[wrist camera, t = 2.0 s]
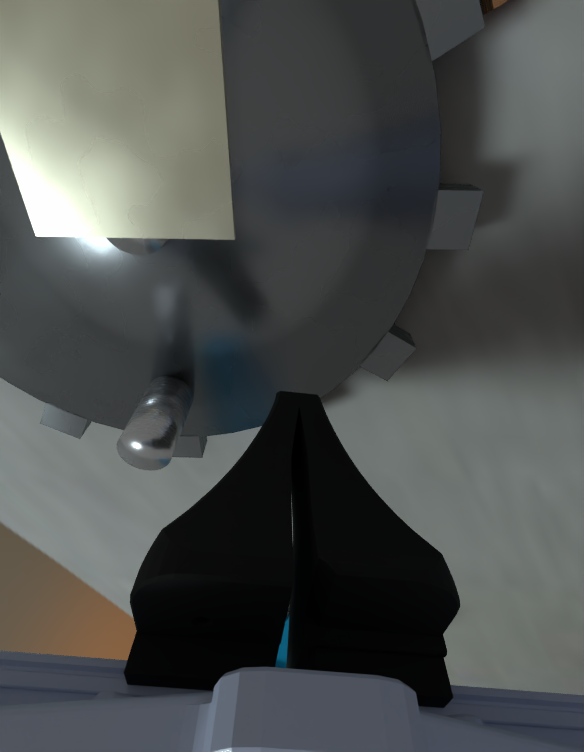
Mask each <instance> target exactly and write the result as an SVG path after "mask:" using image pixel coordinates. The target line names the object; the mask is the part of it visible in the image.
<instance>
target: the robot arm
mask: <svg viewBox="0 0 584 752" xmlns="http://www.w3.org/2000/svg"><path fill="white" fill-rule="evenodd" d="M291 495H292V508H291ZM292 515H293V541H292ZM289 602H290V612H289V630H288V646H287V662H286V668H276V667H275V665H276V660H277V655H278V650H279V645H280V644H281V641H282V636H283V631H284V626H285V621H286V616H287V611H288V606H289ZM130 605H131V609H132V613H133V617H134V621H135V625H136V630H137V632H136V635H135V639H134V642H133V645H132V648H131V652H130V654H129V658H128V660H115V659H102V658H89V657H76V656H62V655H49V654H36V653H23V652H10V651H9V652H8V651H0V752H584V695H572V694H559V693H546V692H533V691H520V690H507V689H494V688H481V687H468V686H455V685H450V682H449V678H448V674H447V670H446V666H445V662H444V658H443V657H445V656H446V655H447V648H446V645H445V641H444V637H443V633H444V632H445V630H446V629H447V627H448V626H449V624H450V623H451V622H452V620H453V619H454V617H455V616H456V614H457V612H458V610H459V608H460V600H459V595H458V592H457V589H456V586H455V583H454V580H453V578H452V575H451V573H450V571H449V568H448V566H447V564H446V562H445V560H444V557H443V555H442V554H441V553H440V552H439V551H438V550H436V549H435V548H434V547H433V546H432V545H430V544H429V543H428V542H427V541H425V540H424V539H423V538H422V537H421V536H419V535H418V534H417V533H416V532H415V531H413V530H412V529H411V528H410V527H409V526H408V525H407V524H406V523H405V522H404V521H403V520H402V519H400V518H399V517H398V516H397V515H396V514H395V513H394V512H393V511H392V509H391V508H390V507H389V506H388V505H387V504H386V503H385V502H384V501H383V500H382V499H381V498H380V497H379V496H378V494H377V493H376V492H375V491H374V490H373V488H372V487H371V486H370V485H369V484H368V482H367V481H366V480H365V478H364V477H363V476H362V474H361V473H360V472H359V470H358V469H357V467H356V466H355V465H354V463H353V462H352V460H351V459H350V457H349V455H348V454H347V452H346V451H345V449H344V447H343V446H342V444H341V442H340V440H339V439H338V437H337V435H336V433H335V431H334V429H333V427H332V425H331V423H330V421H329V419H328V417H327V415H326V412H325V410H324V408H323V405H322V402H321V399H320V397H319V396H318V395H317V394H307V393H297V392H288V391H279V392H277V393H276V398H275V401H274V403H273V406H272V408H271V410H270V413H269V415H268V417H267V418H266V420H265V422H264V424H263V425H262V427H261V429H260V431H259V432H258V434H257V435H256V437H255V438H254V440H253V441H252V443H251V444H250V446H249V447H248V449H247V450H246V451H245V453H244V454H243V455H242V456H241V458H240V459H239V460H238V461H237V463H236V464H235V465H234V466H233V467H232V469H231V470H230V471H229V472H228V473H227V474H226V475H225V476H224V477H223V478H222V479H221V480H220V481H219V482H218V483H217V484H216V485H215V486H214V487H213V488H212V489H211V490H210V491H209V492H208V493H207V494H206V495H205V496H204V497H202V498H201V499H200V500H199V501H198V502H197V503H196V504H195V505H193V506H192V507H191V508H190V509H189V510H187V511H186V512H185V513H183V514H182V515H181V516H179V517H178V518H177V519H175V520H174V521H173V522H171V523H170V524H169V525H167V526H166V527H165V528H163V529H162V530H161V532H160V533H159V535H158V536H157V538H156V539H155V541H154V543H153V544H152V546H151V548H150V550H149V551H148V553H147V555H146V557H145V559H144V561H143V563H142V565H141V567H140V569H139V572H138V575H137V578H136V580H135V583H134V586H133V589H132V591H131V594H130Z"/></svg>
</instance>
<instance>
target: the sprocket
mask: <svg viewBox="0 0 584 752" xmlns="http://www.w3.org/2000/svg"><path fill="white" fill-rule="evenodd" d="M483 28H485V25H484V20H483V16H482V11H481V7H480V3H479V0H0V377H1V378H2V379H4V380H5V381H7V382H8V383H10V384H12V385H14V386H15V387H17V388H19V389H21V390H23V391H24V392H26V393H28V394H30V395H32V396H33V397H35V398H37V399H39V400H41V401H43V402H45V403H46V405H45V409H44V412H43V415H42V419H41V422H40V424H43V425H46V426H48V427H51V428H53V429H56V430H58V431H61V432H63V433H66V434H69V435H71V436H74V437H76V438H79V439H80V438H81V437H82V435H83V434H84V432H85V431H86V429H87V428H88V426H89V425H90V423H91V422H92V421H93V422H96V423H99V424H103V425H107V426H111V427H115V428H118V429H122V430H124V431H123V433H122V435H121V436H120V438H119V440H118V442H117V451H118V453H119V455H120V457H121V458H122V459H123V460H124V461H125V462H127V463H128V464H129V465H131V466H133V467H136V468H138V469H142V470H158V469H161V468H163V467H165V466H167V465H168V464H169V462H170V460H171V458H172V457H192V458H202V457H203V453H204V450H205V446H206V443H207V436H211V435H219V434H227V433H234V432H238V431H243V430H247V429H251V428H255V427H259V426H262V425H263V424H264V422H265V420H266V418H267V417H268V415H269V413H270V410H271V408H272V406H273V403H274V401H275V398H276V393H277V392H279V391H288V392H297V393H307V394H317V395H318V396H319V397H320V398H321V397H323V396H324V395H326V394H327V393H329V392H331V391H332V390H333V389H334V388H336V387H337V386H338V385H339V384H340V383H342V382H343V381H344V380H345V379H346V378H348V377H349V376H350V375H351V374H352V373H354V372H355V371H356V370H357V368H358V367H359V366H360V367H362V368H364V369H366V370H367V371H369V372H371V373H373V374H375V375H377V376H379V377H380V378H382V379H384V380H386V381H388V380H389V379H390V378H391V376H392V375H393V374H394V373H395V372H396V371H397V370H398V369H399V368H400V366H401V365H402V364H403V363H404V362H405V361H406V360H407V359H408V357H409V356H410V355H411V354H412V353H413V352H414V351H415V350H416V349H417V348H416V346H415V344H414V342H413V340H412V337H411V335H410V333H408V332H406V331H404V330H403V329H401V328H399V327H398V326H396V325H394V322H395V321H396V319H397V317H398V315H399V313H400V312H401V310H402V308H403V306H404V304H405V303H406V301H407V299H408V297H409V295H410V293H411V291H412V288H413V286H414V283H415V281H416V278H417V276H418V273H419V271H420V268H421V266H422V263H423V261H424V257H425V253H426V250H427V249H434V250H469V246H470V242H471V239H472V235H473V231H474V227H475V223H476V219H477V215H478V211H479V207H480V203H481V200H482V196H483V192H484V191H483V190H481V189H479V188H477V187H475V186H473V185H470V184H439V181H440V150H441V126H440V116H439V107H438V97H437V88H436V78H435V73H434V68H433V64H432V61H434V60H435V59H437V58H438V57H440V56H441V55H443V54H445V53H446V52H448V51H449V50H451V49H452V48H454V47H455V46H457V45H459V44H460V43H462V42H463V41H465V40H466V39H468V38H469V37H471V36H472V35H474V34H476V33H477V32H479V31H480V30H482V29H483Z"/></svg>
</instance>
